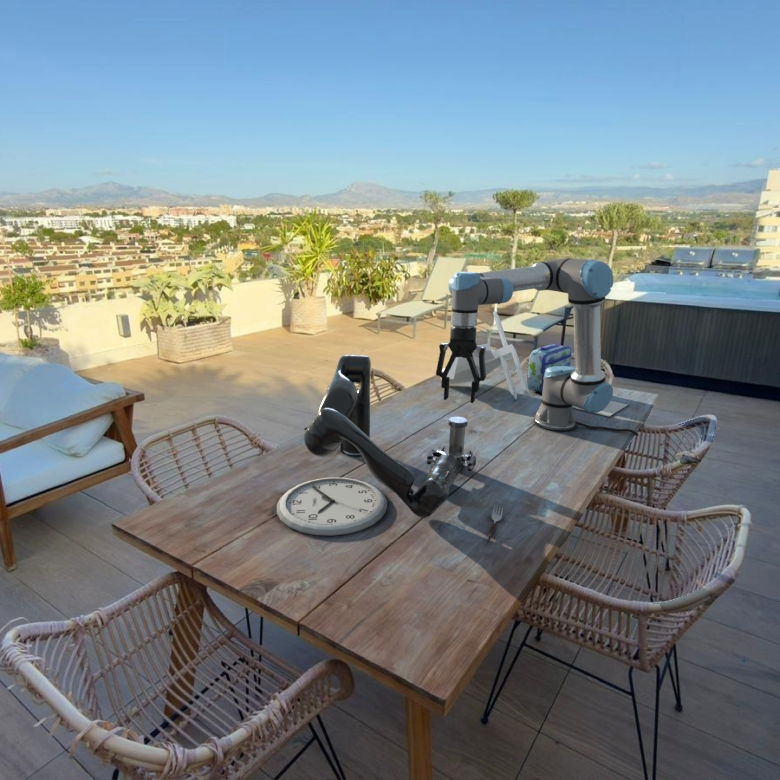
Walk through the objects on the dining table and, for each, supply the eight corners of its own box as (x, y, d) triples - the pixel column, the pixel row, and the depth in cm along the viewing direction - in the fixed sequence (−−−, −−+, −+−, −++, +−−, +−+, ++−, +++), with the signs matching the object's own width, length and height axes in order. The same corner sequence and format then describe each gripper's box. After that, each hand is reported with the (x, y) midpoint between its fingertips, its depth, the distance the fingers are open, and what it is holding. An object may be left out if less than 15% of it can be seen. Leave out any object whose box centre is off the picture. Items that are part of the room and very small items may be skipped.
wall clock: (392, 527, 129) (268, 531, 127) (391, 533, 130) (269, 537, 127) (383, 473, 158) (282, 475, 155) (383, 478, 158) (282, 480, 156)
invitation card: (608, 416, 214) (573, 407, 224) (608, 416, 214) (573, 408, 224) (628, 404, 229) (594, 396, 238) (628, 405, 229) (594, 397, 238)
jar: (464, 470, 165) (467, 423, 160) (449, 471, 164) (452, 423, 159) (460, 464, 169) (463, 418, 164) (446, 464, 169) (449, 418, 164)
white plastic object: (461, 429, 252) (437, 405, 227) (444, 352, 274) (420, 323, 250) (535, 404, 240) (518, 377, 215) (510, 326, 262) (492, 293, 237)
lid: (469, 428, 160) (469, 422, 159) (450, 428, 159) (450, 423, 159) (464, 421, 165) (465, 416, 165) (446, 421, 165) (447, 416, 164)
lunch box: (543, 396, 238) (548, 352, 231) (522, 391, 245) (526, 347, 239) (570, 385, 255) (575, 343, 249) (550, 381, 262) (555, 340, 256)
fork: (482, 542, 127) (483, 535, 126) (493, 511, 141) (494, 504, 140) (493, 545, 126) (494, 538, 125) (503, 513, 140) (503, 506, 140)
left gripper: (419, 479, 154) (434, 457, 168) (467, 488, 149) (478, 465, 164) (420, 456, 151) (435, 436, 166) (469, 464, 147) (479, 443, 161)
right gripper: (500, 326, 153) (494, 400, 160) (433, 321, 160) (430, 392, 167) (496, 331, 146) (490, 408, 153) (426, 325, 153) (423, 399, 160)
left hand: (456, 450), depth 165 cm, fingers open, 8 cm apart
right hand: (459, 399), depth 160 cm, fingers open, 8 cm apart
